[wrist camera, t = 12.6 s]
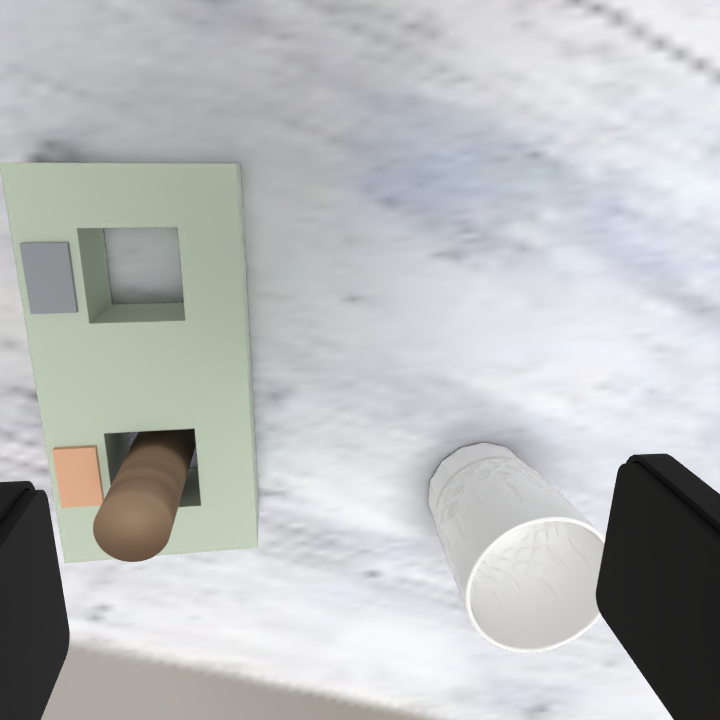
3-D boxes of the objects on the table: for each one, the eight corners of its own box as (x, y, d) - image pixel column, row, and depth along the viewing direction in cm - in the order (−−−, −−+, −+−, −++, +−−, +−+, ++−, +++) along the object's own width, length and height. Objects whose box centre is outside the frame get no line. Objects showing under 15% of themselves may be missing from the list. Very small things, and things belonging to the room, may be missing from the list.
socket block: (30, 164, 31) (-12, 162, 26) (240, 164, 32) (235, 163, 27) (83, 517, 36) (56, 566, 32) (258, 505, 38) (257, 550, 33)
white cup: (400, 465, 38) (442, 560, 29) (514, 413, 39) (594, 491, 29) (443, 560, 41) (495, 677, 32) (550, 512, 41) (635, 613, 32)
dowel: (137, 410, 35) (88, 498, 26) (195, 408, 36) (167, 493, 26) (143, 461, 36) (97, 564, 27) (199, 458, 36) (174, 558, 27)
